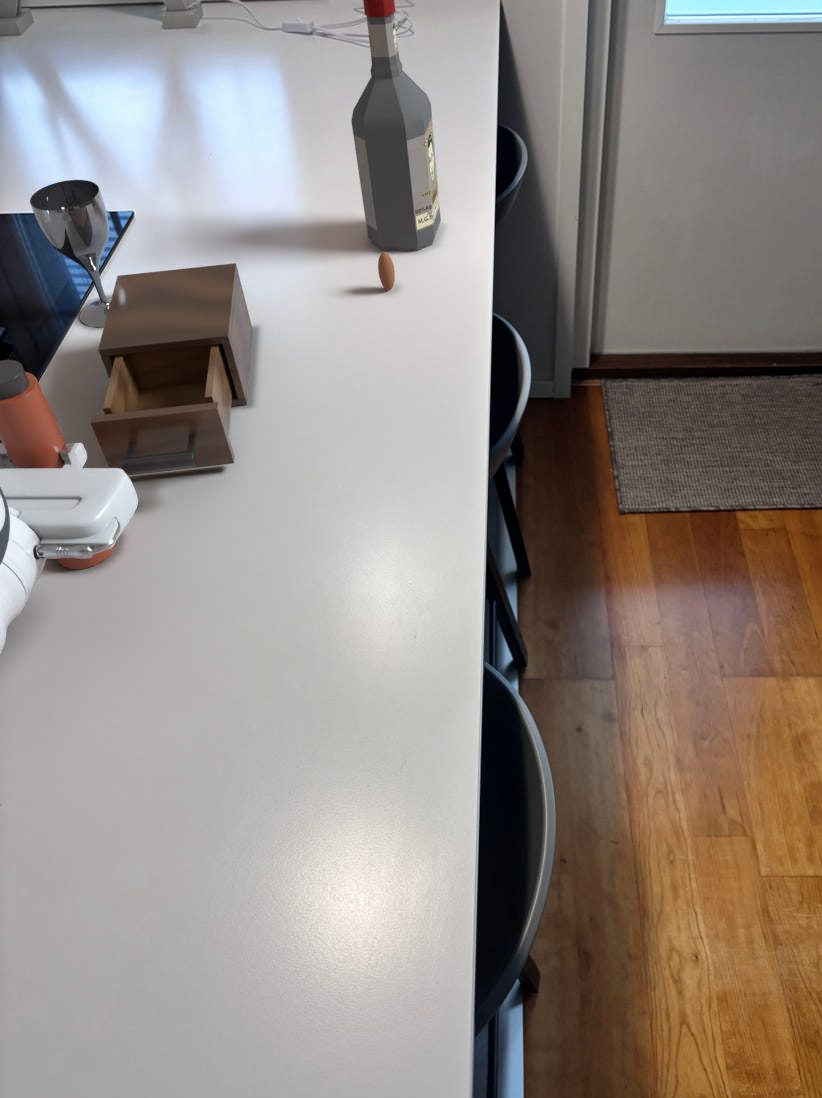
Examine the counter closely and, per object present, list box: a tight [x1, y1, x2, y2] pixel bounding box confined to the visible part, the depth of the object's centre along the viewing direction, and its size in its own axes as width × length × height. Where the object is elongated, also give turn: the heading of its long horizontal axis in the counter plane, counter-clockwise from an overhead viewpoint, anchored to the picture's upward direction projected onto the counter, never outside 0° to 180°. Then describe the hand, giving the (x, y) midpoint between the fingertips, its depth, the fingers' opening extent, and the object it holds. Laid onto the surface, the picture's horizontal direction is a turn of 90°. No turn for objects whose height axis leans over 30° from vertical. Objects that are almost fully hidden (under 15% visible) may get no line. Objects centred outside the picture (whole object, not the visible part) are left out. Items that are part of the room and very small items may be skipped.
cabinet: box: [97, 262, 254, 407], centre depth 112 cm, size 16×14×9 cm
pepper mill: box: [0, 359, 117, 570], centre depth 89 cm, size 6×6×20 cm
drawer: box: [89, 344, 236, 476], centre depth 103 cm, size 19×12×7 cm, turn 6°
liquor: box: [350, 0, 442, 252], centre depth 124 cm, size 9×9×30 cm
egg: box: [377, 251, 396, 291], centre depth 124 cm, size 2×2×5 cm
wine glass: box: [29, 179, 112, 328], centre depth 120 cm, size 8×8×15 cm
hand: (43, 448), depth 88 cm, fingers closed on pepper mill, 5 cm apart
